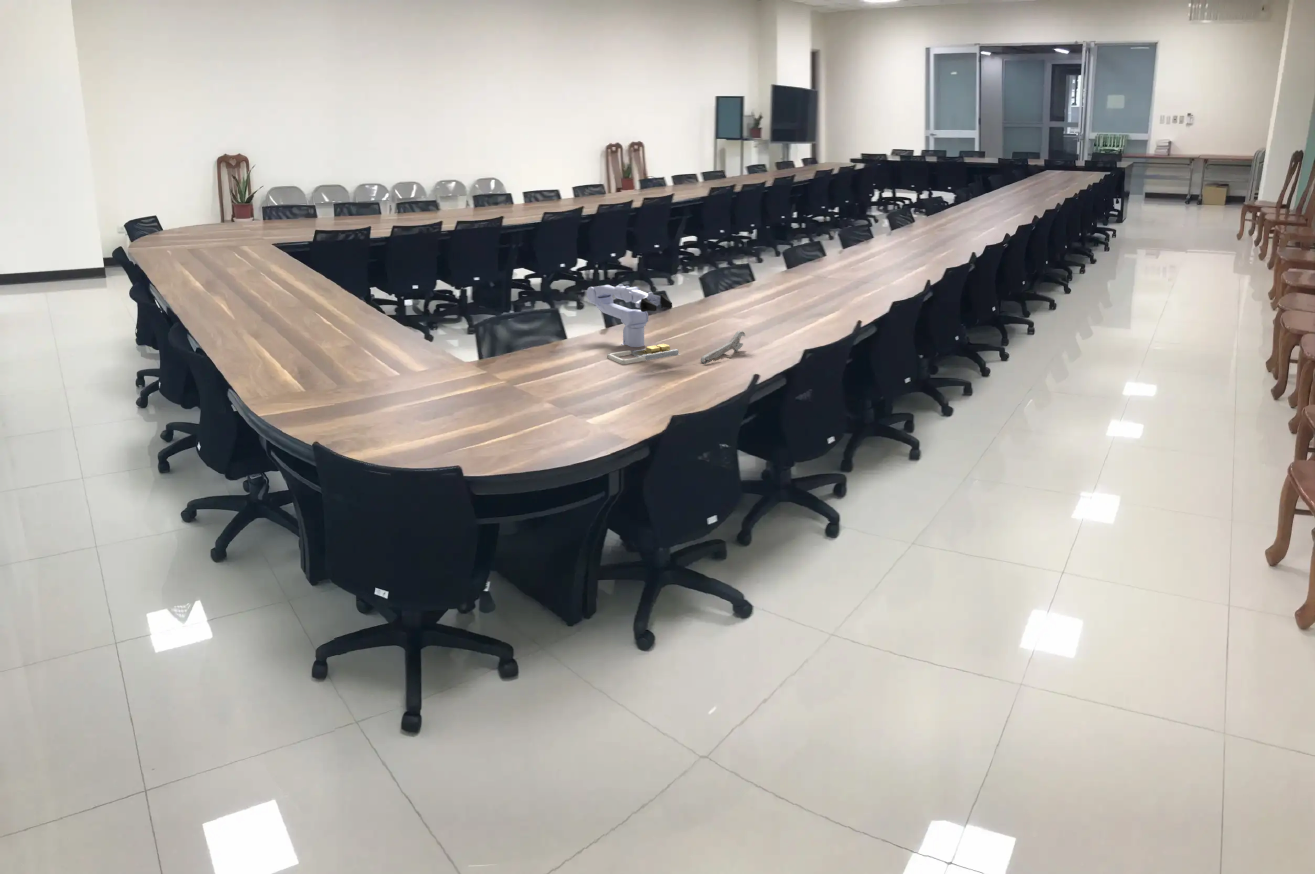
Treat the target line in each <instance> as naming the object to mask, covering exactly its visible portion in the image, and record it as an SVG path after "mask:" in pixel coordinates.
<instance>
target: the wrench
mask: <svg viewBox="0 0 1315 874" xmlns="http://www.w3.org/2000/svg"><path fill="white" fill-rule="evenodd" d="M742 337H746V333H745V332H744V331H743V330H742V331H740V330H739V331H738V330H737V331H736V332H735V334H734V335H733V336H732V338H731V339H730V340H729V341H728V342H727V343H725V344H723V345H721V346H719V347H717V348H716V349H713V350H712V351H710V352H707V353H706V354H705V355H703V356H701V357H700V363H701V364H702V365H703V364H704V365H706V364H708V363H710V362H712V361H713V359H716V358H718V357H721V356H722V355H724V354H726V353H727V352H729V351H731V350H733V352H734V353H738V352H739V350H740V349H741V348H742V347H743V346H744V343H743V342H741V341H740V340H741V338H742Z"/></svg>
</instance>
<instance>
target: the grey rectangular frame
mask: <svg viewBox="0 0 1315 874" xmlns="http://www.w3.org/2000/svg"><path fill="white" fill-rule="evenodd" d="M631 351H632V350H630V349H629V350H623V351H617V352H611V353H607V354H606V358H607V359H609V360H611V361H613V362H616V363H619V364H621V365H628V364H629V365H630V364H633V363H640V362H645V356H642V357H631V358H625V359H623V358H620V357H625V356H629V355H631ZM631 356H632V355H631Z"/></svg>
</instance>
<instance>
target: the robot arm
mask: <svg viewBox="0 0 1315 874" xmlns="http://www.w3.org/2000/svg"><path fill="white" fill-rule="evenodd" d="M586 290H587V291H586V295H587V296H586V297H587V299H588V302H589V303H590V304H593V305H594V306H595V307H596V308H597V309H598V310H599V311H600V312H601V313H603V314H606V315H608V316H611V317H614V318H617V319H618V320H619V319H620V322H621V323H622V324H623V325H624V327H623V330H622V344H620V345H622V346H624V345H626V346H627V347H631V348H639V347H644V346H645V327H646V326H647V324H648V322H649V320H650V319H649V313H648V312H656V311H657V307H658V306H660V305H661V306H660V307H661V309H664V308H668V309H671V308H673V302H672V301H671V300H670V299H669V298H668V295H667V294H665V293H662V294H660V295H657V294H654V292H652V291H649V292H645V291H643V290H641V289H640V287H638V286H637V285H635V286H633V287H632V286H631V287H630V285H624V284H623V283H619V284H618V285H616V286H612V285H610V284H604V285H598V286H597V285H596V286H589V287H588V288H587V289H586ZM613 296H614V297H613ZM614 298H616V299H618V300H622V301H624V302H625V304H626V303H630V302H631V303H634V304H635V308H637V309H634V308H633V309H631V308H629V307H625V306H623V305H620V304H616V303H614Z"/></svg>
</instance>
